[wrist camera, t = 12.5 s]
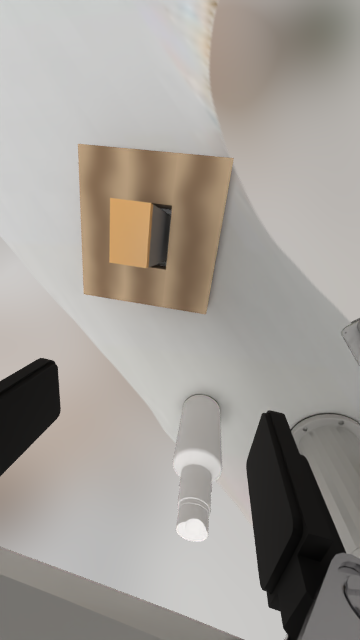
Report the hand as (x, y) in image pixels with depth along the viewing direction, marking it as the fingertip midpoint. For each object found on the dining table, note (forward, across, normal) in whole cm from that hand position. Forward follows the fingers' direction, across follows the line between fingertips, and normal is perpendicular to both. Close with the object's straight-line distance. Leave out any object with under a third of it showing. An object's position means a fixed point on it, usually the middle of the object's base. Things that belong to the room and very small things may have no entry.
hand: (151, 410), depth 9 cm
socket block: (+24, +8, -8) cm, 26 cm away
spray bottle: (+25, -4, +21) cm, 33 cm away
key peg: (+24, +8, -8) cm, 26 cm away
